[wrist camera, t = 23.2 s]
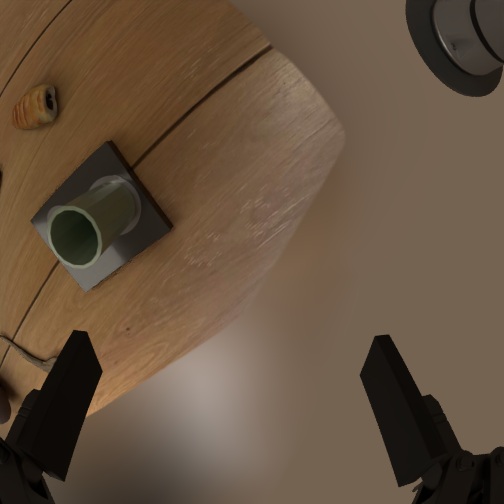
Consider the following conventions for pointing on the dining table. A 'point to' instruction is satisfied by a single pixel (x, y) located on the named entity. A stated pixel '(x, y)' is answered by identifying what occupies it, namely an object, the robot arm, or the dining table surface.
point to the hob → (138, 231)
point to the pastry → (35, 108)
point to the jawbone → (42, 365)
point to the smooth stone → (4, 407)
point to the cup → (90, 224)
